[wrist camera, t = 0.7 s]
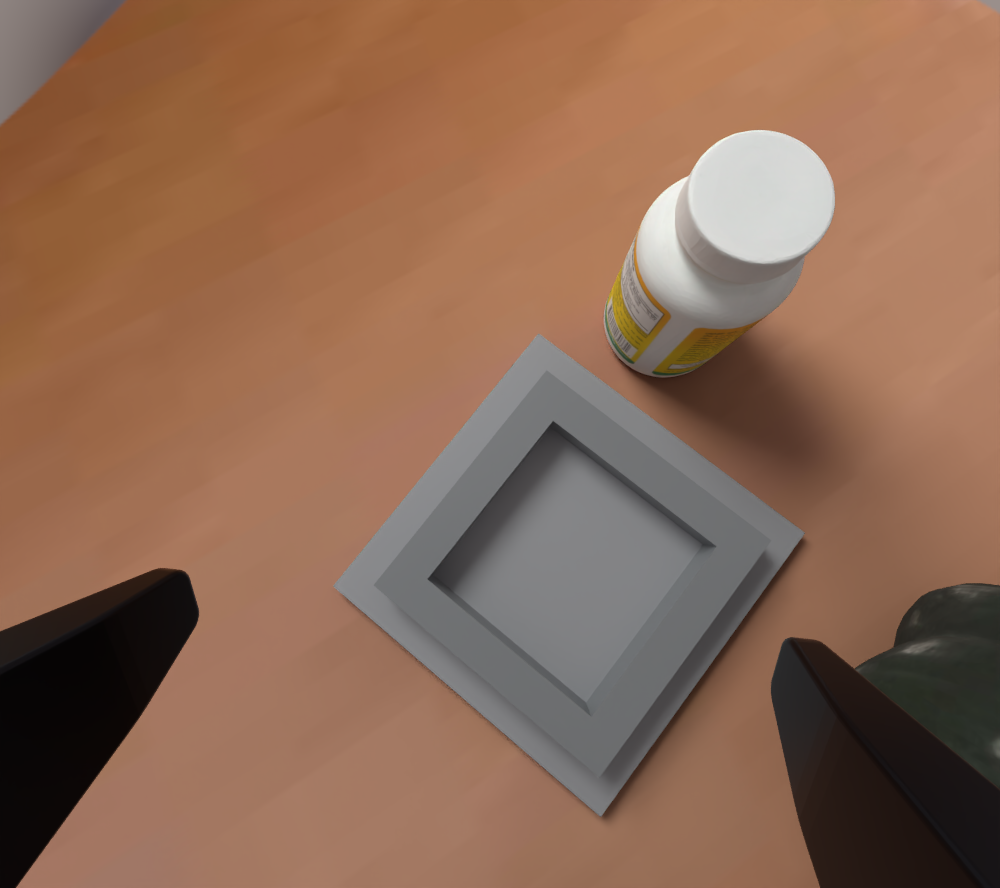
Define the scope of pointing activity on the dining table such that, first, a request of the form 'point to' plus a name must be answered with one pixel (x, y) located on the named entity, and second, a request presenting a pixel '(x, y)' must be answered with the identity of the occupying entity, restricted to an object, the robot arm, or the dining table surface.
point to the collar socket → (569, 570)
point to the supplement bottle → (718, 252)
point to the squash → (949, 670)
